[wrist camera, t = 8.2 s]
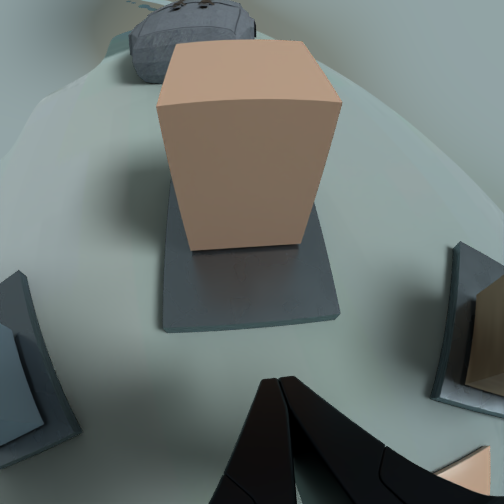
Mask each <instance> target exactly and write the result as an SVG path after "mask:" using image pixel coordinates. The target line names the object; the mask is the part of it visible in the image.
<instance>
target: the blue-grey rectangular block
mask: <svg viewBox="0 0 504 504" xmlns="http://www.w3.org/2000/svg"><path fill="white" fill-rule="evenodd" d="M43 424H44V423H43V421H42V418H41V416H40V414H39V411H38V409H37V406H36V404H35V401H34V399H33V396H32V394H31V391H30V388H29V386H28V383H27V380H26V377H25V374H24V371H23V368H22V365H21V362H20V358H19V355H18V351H17V348H16V344H15V341H14V337H13V333H12V330H11V329H10V328H8V327H6V326H4V325H2V324H1V323H0V446H1V445H3V444H5V443H7V442H9V441H12V440H14V439H16V438H18V437H20V436H22V435H24V434H26V433H28V432H30V431H32V430H34V429H36V428H38V427H39V426H41V425H43Z"/></svg>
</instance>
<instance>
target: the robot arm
mask: <svg viewBox="0 0 504 504" xmlns="http://www.w3.org/2000/svg"><path fill="white" fill-rule="evenodd" d="M223 474H224V475H222V477H221V479H220V481H219V484H218V486H217V488H216V490H215V492H214V494H213V496H212V498H211V500H210V502H209V504H297V499H296V486H297V489H298V491H299V494H300V497H301V500H302V503H303V504H504V496H489V495H484V494H480V493H477V492H474V491H472V490H469V489H467V488H465V487H462V486H460V485H457V484H455V483H453V482H451V481H448V480H446V479H444V478H442V477H439V476H437V475H435V474H433V473H431V472H429V471H427V470H425V469H423V468H421V467H419V466H418V465H416V464H414V463H412V462H411V461H409V460H408V459H406V458H404V457H403V456H401V455H400V454H398V453H397V452H395V451H394V450H392V449H391V448H389V447H388V446H386V447H385V444H383V443H382V442H381V441H379V440H378V439H376V438H375V437H373V436H372V435H371V434H369V433H368V432H367V431H365V430H364V429H362V428H361V427H360V426H358V425H357V424H356V423H354V422H353V421H352V420H350V419H349V418H348V417H346V416H345V415H344V414H342V413H341V412H340V411H338V410H337V409H336V408H334V407H333V406H332V405H330V404H329V403H328V402H327V401H325V400H324V399H323V398H321V397H320V396H319V395H318V394H316V393H315V392H314V391H312V390H311V389H310V388H309V387H307V386H306V385H305V384H304V383H302V382H301V381H300V380H299V379H298V378H296V377H295V376H288V377H280V378H279V379H277V378H270V379H263V380H261V382H260V385H259V387H258V390H257V392H256V395H255V398H254V400H253V403H252V405H251V408H250V410H249V413H248V415H247V418H246V420H245V423H244V425H243V428H242V430H241V433H240V435H239V437H238V440H237V442H236V445H235V447H234V449H233V452H232V454H231V457H230V459H229V461H228V464H227V466H226V468H225V471H224V473H223ZM295 483H296V486H295Z"/></svg>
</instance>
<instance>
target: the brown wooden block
mask: <svg viewBox="0 0 504 504" xmlns="http://www.w3.org/2000/svg"><path fill="white" fill-rule="evenodd" d="M465 385H468V386H471V387H474V388H478V389H481V390H484V391H487V392H491V393H494V394H497V395H500V396H504V275H503V276H501V277H500V278H499V279H497V280H496V281H495V282H493V283H492V284H491V285H489V286H488V287H487V288H485V289H484V290H482V291H481V292H480V293H478V294H477V295H476V310H475V322H474V331H473V339H472V347H471V354H470V360H469V366H468V371H467V377H466V382H465Z"/></svg>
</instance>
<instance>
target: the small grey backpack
mask: <svg viewBox="0 0 504 504" xmlns="http://www.w3.org/2000/svg"><path fill="white" fill-rule="evenodd" d="M254 37H256V24H255V21H254V19H253V18H251V17H249V14H248V12H247V11H245V10H244V9H243V8H242V6H241V4H240V3H237V2H233V1H230V0H180V1H176V2H173V3H171V4H168V5H166V6H164V7H162V8H159V9H157V10H156V11H154V12H153V13H151V14H149V15H148V17H147V18H146V19H145V20H144V21H142V22H141V23H140V24H138V25H137V26H136V27H135V28H134V29H133V30H132V32H131V33H130V34H129V46H130V55H132V56H133V65H134V68H135V70H136V72H137V74H138V76H139V77H140V78H142V79H143V80H144V81H145V82H151V83H159V84H163V82H164V79H165V75H166V72H167V69H168V66H169V63H170V60H171V57H172V54H173V51H174V49H175V46H176V44H180V43H190V42H201V41H216V40H254Z"/></svg>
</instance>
